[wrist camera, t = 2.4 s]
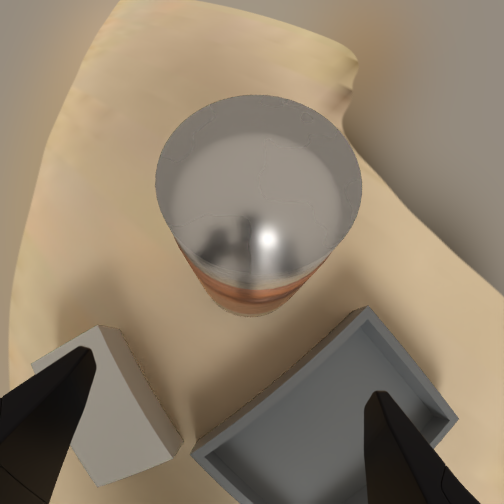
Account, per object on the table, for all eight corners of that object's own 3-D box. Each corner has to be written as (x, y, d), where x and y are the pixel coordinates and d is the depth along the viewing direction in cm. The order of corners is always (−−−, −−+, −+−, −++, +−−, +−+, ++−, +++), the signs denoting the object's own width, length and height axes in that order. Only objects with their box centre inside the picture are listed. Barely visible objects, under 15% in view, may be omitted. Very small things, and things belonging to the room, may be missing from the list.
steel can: (243, 338, 21) (246, 325, 8) (182, 262, 22) (118, 162, 10) (317, 274, 22) (400, 188, 10) (255, 206, 24) (268, 71, 11)
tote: (299, 535, 16) (306, 555, 14) (196, 441, 19) (189, 454, 16) (437, 413, 19) (458, 418, 16) (352, 311, 22) (368, 305, 19)
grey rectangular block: (118, 468, 18) (97, 487, 14) (60, 363, 20) (30, 363, 16) (184, 440, 19) (173, 458, 15) (120, 329, 21) (97, 324, 17)
